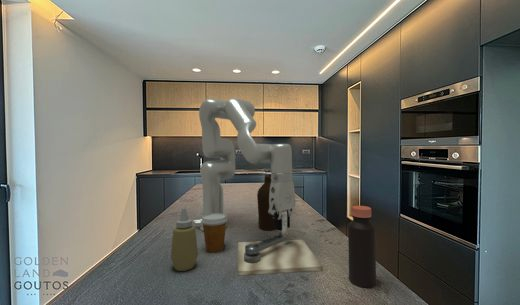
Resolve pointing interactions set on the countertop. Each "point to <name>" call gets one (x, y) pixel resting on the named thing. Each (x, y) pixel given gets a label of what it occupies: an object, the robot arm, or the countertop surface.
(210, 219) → the disposable coffee cup
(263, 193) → the olive oil
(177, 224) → the squeeze bottle
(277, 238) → the lever
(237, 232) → the countertop surface
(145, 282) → the countertop surface
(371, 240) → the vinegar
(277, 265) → the lever board
